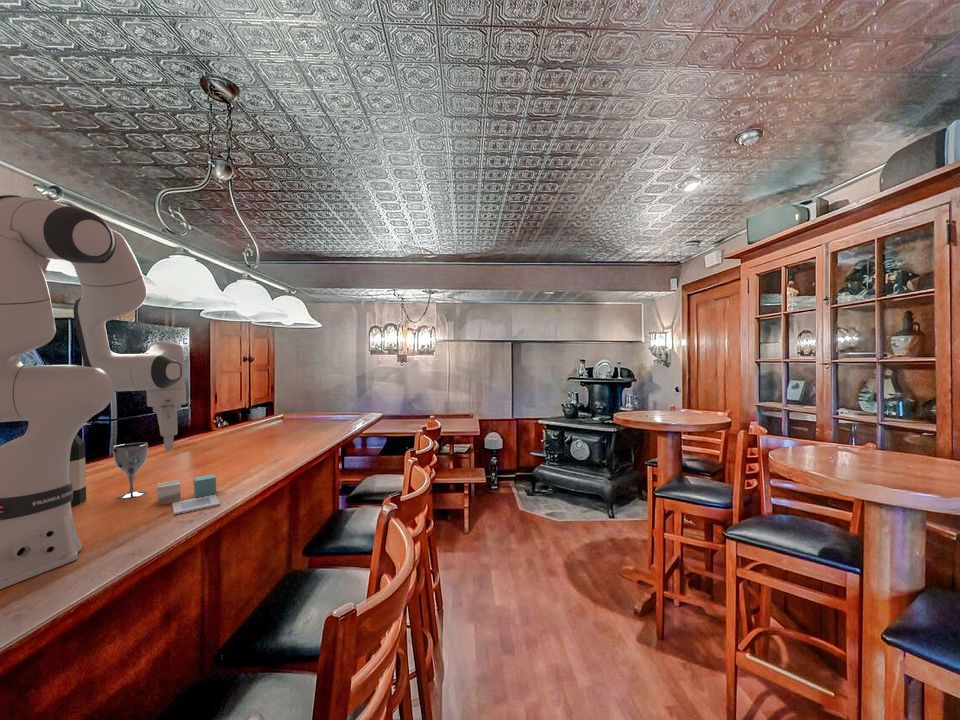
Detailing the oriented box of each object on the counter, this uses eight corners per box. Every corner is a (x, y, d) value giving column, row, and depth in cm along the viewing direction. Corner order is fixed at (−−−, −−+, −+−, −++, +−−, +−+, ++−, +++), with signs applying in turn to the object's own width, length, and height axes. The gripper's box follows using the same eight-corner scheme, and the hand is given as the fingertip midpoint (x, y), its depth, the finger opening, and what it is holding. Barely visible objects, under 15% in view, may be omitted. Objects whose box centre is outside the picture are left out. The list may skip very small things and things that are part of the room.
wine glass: (156, 491, 123) (154, 442, 123) (130, 500, 115) (128, 448, 115) (133, 490, 124) (132, 442, 124) (106, 499, 116) (104, 447, 116)
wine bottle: (64, 509, 108) (61, 399, 108) (34, 510, 109) (31, 400, 109) (94, 499, 117) (92, 396, 117) (66, 499, 117) (64, 397, 117)
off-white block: (180, 501, 113) (180, 483, 113) (157, 505, 110) (157, 487, 110) (179, 496, 117) (179, 479, 117) (157, 501, 114) (157, 483, 114)
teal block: (216, 494, 119) (215, 477, 119) (195, 498, 116) (195, 481, 116) (214, 490, 123) (213, 474, 123) (194, 494, 119) (193, 477, 119)
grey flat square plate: (220, 505, 109) (220, 503, 109) (173, 515, 102) (173, 512, 102) (215, 496, 116) (215, 494, 116) (172, 504, 110) (172, 502, 110)
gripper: (183, 400, 108) (184, 451, 108) (178, 395, 123) (180, 440, 124) (152, 403, 104) (154, 456, 104) (152, 397, 119) (153, 443, 120)
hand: (168, 447), depth 114 cm, fingers open, 8 cm apart
